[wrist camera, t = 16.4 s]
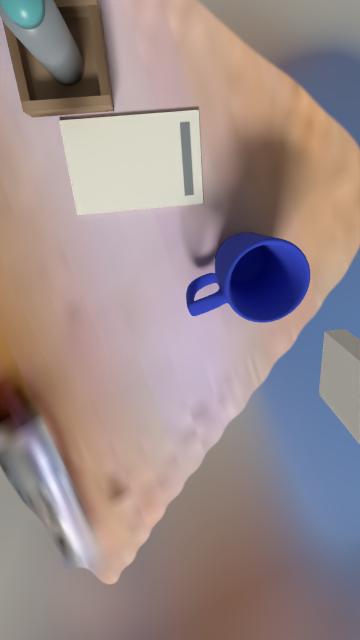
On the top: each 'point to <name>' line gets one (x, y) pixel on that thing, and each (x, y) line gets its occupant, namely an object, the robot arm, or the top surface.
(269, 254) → the mug
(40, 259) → the top surface
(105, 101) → the tray
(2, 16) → the marker
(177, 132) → the paper
